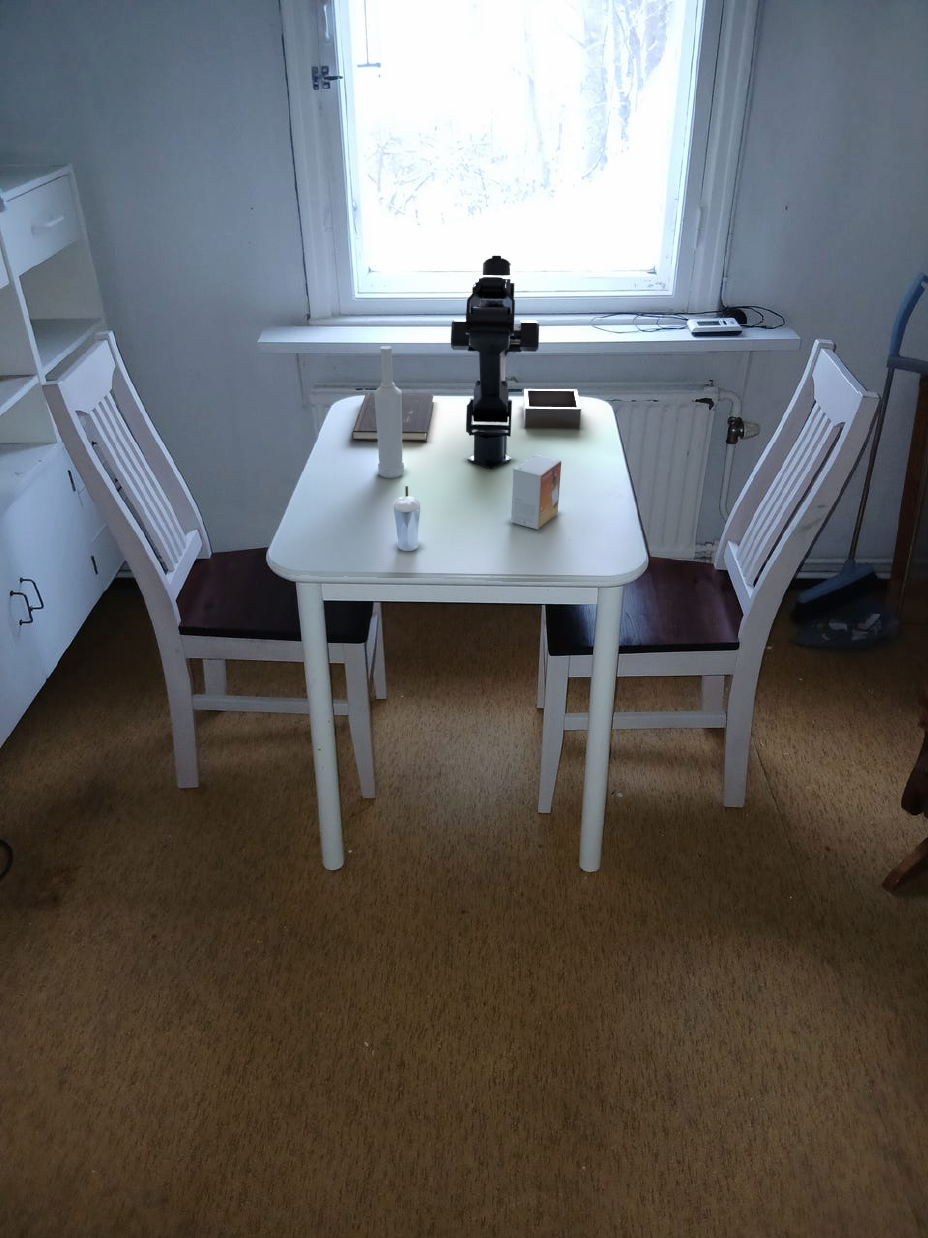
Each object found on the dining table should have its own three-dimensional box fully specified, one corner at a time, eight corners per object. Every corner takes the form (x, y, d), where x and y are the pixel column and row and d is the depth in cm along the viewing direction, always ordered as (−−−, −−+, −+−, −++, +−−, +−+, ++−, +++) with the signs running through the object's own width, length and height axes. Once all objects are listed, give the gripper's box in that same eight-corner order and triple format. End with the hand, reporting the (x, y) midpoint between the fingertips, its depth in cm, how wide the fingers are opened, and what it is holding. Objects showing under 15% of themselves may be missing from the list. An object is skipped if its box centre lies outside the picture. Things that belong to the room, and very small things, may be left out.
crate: (579, 428, 202) (581, 408, 199) (524, 427, 202) (525, 408, 199) (575, 408, 212) (577, 389, 209) (523, 407, 212) (524, 388, 209)
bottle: (373, 475, 181) (366, 349, 167) (387, 465, 185) (381, 341, 171) (395, 480, 179) (390, 353, 165) (409, 470, 183) (405, 345, 169)
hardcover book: (433, 403, 214) (433, 393, 213) (426, 442, 195) (426, 431, 194) (365, 402, 214) (364, 392, 213) (352, 440, 195) (351, 430, 194)
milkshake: (421, 538, 160) (420, 485, 154) (421, 553, 155) (420, 499, 150) (395, 538, 159) (393, 485, 154) (394, 553, 155) (392, 500, 149)
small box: (537, 530, 162) (540, 476, 156) (510, 522, 164) (512, 468, 159) (558, 513, 168) (562, 460, 162) (532, 506, 170) (534, 453, 164)
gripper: (541, 282, 190) (537, 322, 205) (451, 281, 191) (454, 320, 206) (540, 331, 188) (536, 368, 203) (449, 329, 188) (452, 366, 204)
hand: (494, 354), depth 204 cm, fingers closed on beer can, 5 cm apart
